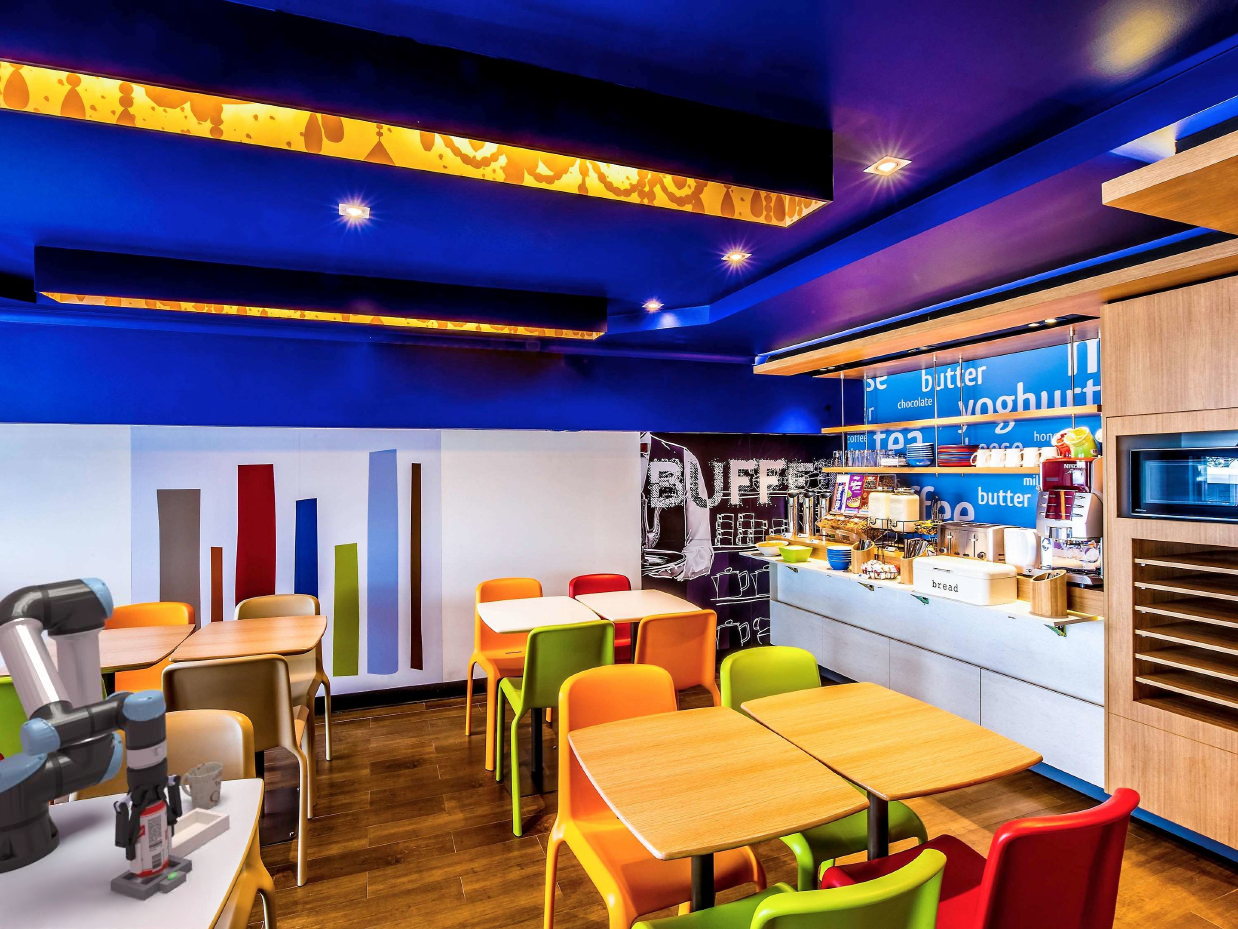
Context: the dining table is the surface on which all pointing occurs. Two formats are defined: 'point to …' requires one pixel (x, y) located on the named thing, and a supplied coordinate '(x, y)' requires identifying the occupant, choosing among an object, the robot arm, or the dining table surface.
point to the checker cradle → (160, 884)
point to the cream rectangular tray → (197, 830)
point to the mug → (204, 784)
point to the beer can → (153, 839)
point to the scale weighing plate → (148, 880)
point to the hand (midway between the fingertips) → (151, 862)
